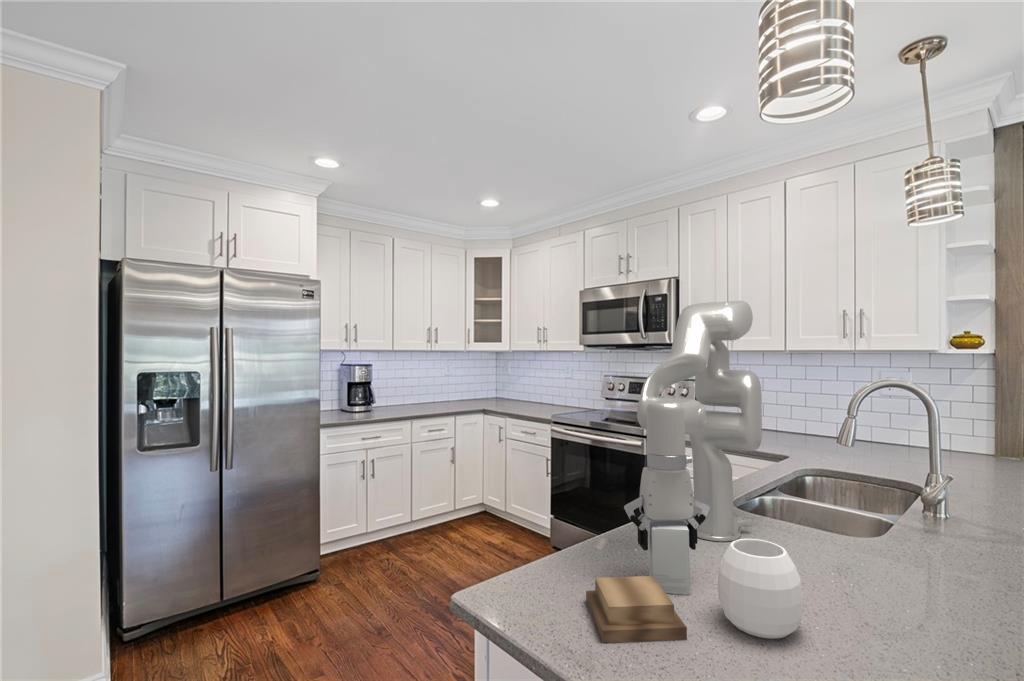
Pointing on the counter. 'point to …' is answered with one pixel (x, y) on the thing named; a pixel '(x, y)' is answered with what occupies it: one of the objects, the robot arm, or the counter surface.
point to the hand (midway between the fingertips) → (667, 547)
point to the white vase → (760, 588)
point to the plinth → (634, 629)
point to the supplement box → (670, 555)
